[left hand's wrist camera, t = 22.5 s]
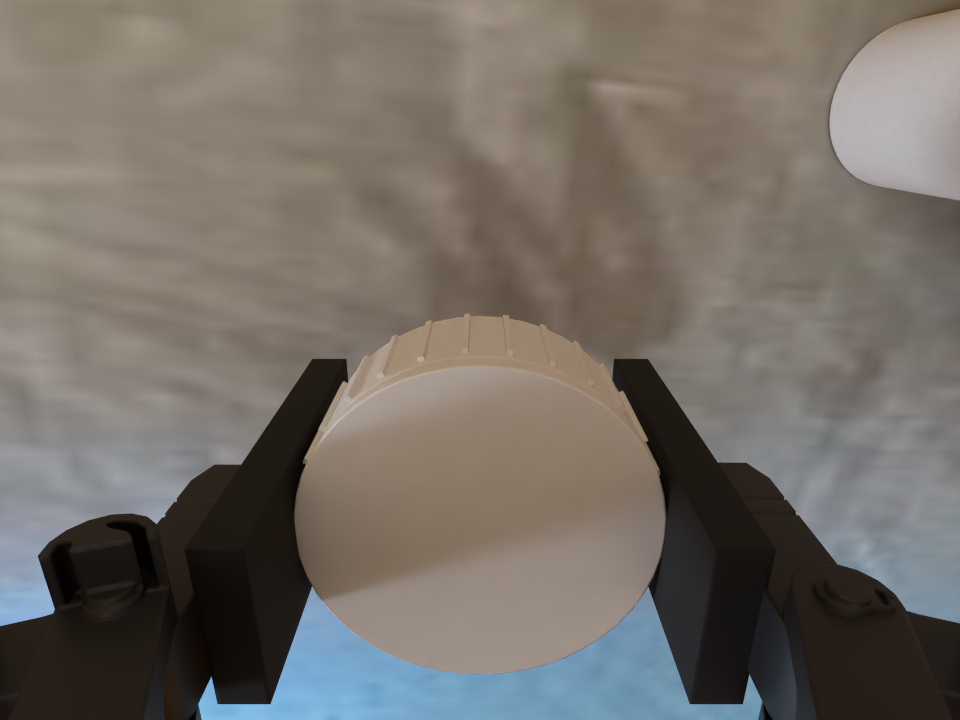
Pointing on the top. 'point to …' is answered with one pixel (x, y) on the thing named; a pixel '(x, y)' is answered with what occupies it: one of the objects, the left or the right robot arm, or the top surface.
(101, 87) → the top surface
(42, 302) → the top surface
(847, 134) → the jar
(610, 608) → the lid
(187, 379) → the top surface
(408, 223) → the top surface
